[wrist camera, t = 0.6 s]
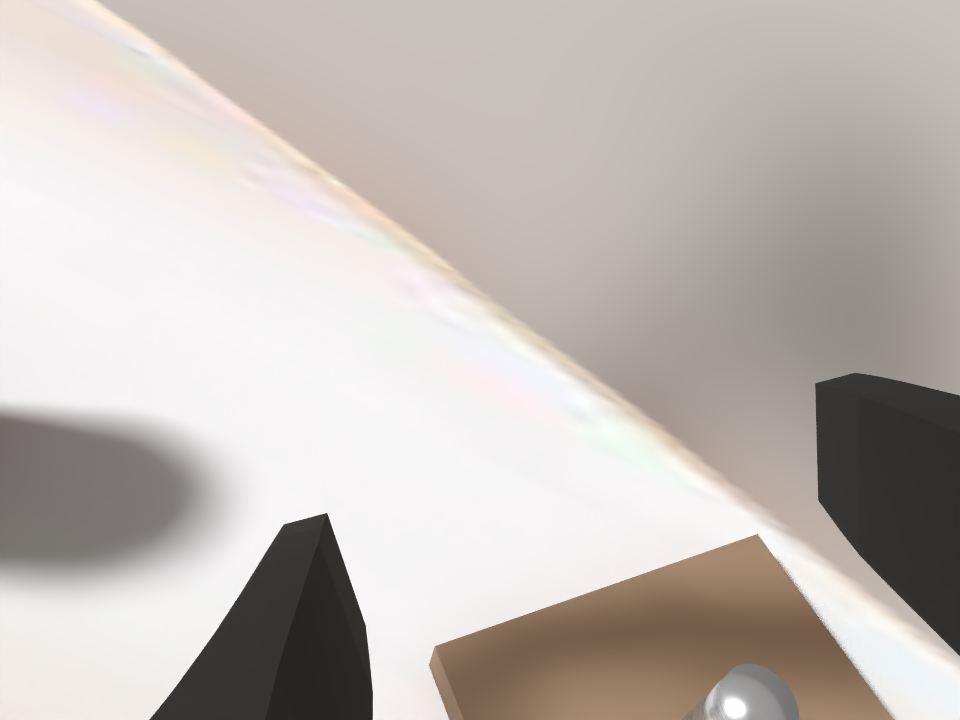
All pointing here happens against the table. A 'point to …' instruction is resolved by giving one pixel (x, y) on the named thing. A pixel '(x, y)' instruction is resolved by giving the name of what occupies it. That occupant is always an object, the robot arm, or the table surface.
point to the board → (655, 648)
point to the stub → (747, 697)
